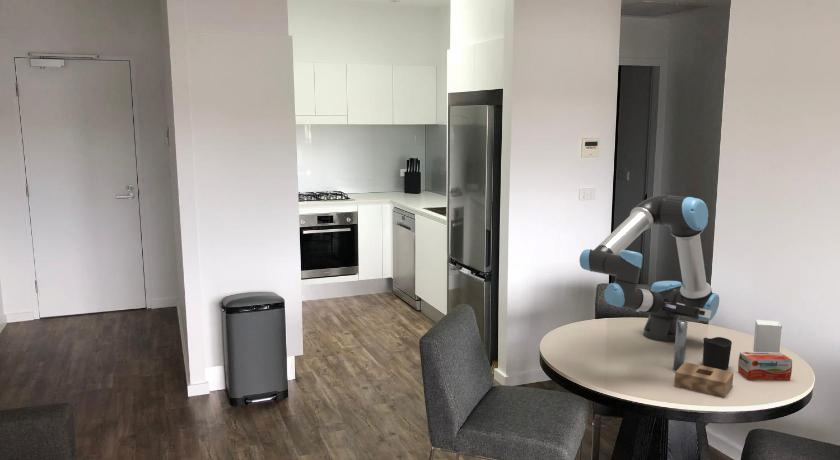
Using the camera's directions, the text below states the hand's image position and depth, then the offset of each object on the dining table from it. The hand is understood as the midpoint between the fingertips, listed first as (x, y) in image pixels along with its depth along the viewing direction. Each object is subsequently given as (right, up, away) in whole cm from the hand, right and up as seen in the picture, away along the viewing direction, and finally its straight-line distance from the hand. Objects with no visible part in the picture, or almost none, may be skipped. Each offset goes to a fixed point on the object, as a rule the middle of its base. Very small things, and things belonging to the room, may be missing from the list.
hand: (696, 311), depth 243 cm
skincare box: (+31, -21, +13) cm, 40 cm away
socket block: (-2, -24, -10) cm, 26 cm away
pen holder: (+10, -22, +8) cm, 25 cm away
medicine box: (+24, -23, -1) cm, 33 cm away
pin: (-5, -22, +4) cm, 23 cm away
